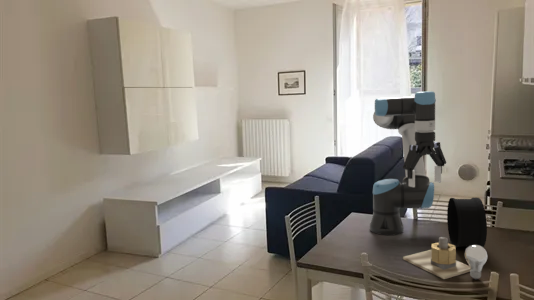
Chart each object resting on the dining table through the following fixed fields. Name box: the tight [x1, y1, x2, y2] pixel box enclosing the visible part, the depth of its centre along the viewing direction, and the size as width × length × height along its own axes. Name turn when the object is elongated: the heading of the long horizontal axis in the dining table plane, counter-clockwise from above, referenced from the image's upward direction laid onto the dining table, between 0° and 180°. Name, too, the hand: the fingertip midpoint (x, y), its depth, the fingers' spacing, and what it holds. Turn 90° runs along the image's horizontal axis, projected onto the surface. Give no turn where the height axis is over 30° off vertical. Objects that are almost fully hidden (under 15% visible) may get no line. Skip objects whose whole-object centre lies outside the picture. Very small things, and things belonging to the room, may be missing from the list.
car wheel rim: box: [446, 197, 488, 248], centre depth 170 cm, size 20×10×20 cm, turn 168°
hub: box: [431, 241, 457, 264], centre depth 152 cm, size 8×8×5 cm
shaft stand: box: [402, 236, 470, 280], centre depth 155 cm, size 20×14×11 cm
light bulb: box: [464, 245, 488, 280], centre depth 142 cm, size 7×7×12 cm
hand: (425, 184), depth 168 cm, fingers open, 13 cm apart
